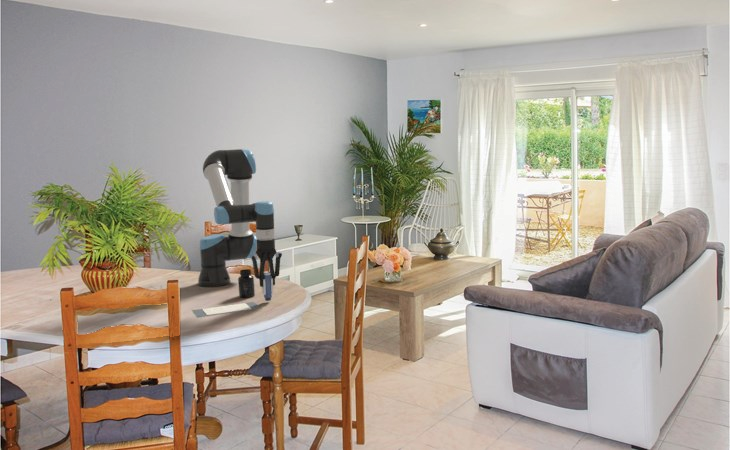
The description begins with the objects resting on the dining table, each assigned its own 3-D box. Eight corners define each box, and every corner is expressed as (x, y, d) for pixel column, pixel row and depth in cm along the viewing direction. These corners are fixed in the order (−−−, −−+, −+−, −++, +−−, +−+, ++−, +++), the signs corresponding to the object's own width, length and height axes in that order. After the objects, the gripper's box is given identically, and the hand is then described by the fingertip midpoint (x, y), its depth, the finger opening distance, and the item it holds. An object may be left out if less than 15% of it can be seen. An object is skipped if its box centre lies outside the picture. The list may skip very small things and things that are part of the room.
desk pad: (191, 311, 259) (191, 310, 258) (253, 302, 270) (253, 301, 269) (197, 318, 248) (197, 317, 248) (261, 309, 259) (261, 308, 259)
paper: (202, 309, 259) (202, 309, 259) (245, 303, 267) (245, 303, 267) (207, 315, 250) (207, 314, 250) (251, 309, 258) (251, 308, 258)
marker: (263, 299, 268) (261, 272, 266) (270, 298, 270) (269, 271, 268) (265, 301, 265) (264, 273, 264) (273, 300, 267) (271, 272, 265)
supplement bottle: (257, 295, 281) (256, 269, 280) (250, 299, 275) (248, 272, 273) (244, 294, 284) (242, 268, 282) (236, 298, 277) (234, 271, 276)
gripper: (249, 241, 257) (252, 297, 260) (286, 238, 263) (288, 293, 267) (244, 239, 263) (247, 293, 267) (280, 235, 270) (282, 289, 274)
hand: (267, 293), depth 267 cm, fingers closed on marker, 2 cm apart
